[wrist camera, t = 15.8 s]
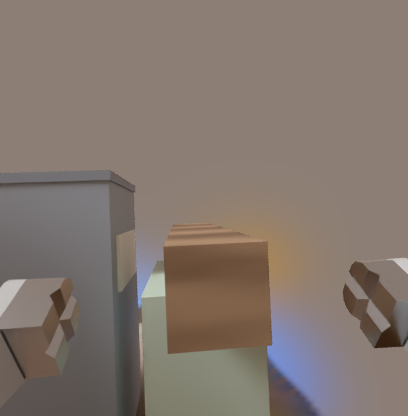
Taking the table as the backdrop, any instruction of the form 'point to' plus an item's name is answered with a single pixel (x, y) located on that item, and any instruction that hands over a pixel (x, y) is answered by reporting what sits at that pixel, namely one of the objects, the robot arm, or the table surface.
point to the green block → (197, 369)
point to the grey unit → (78, 285)
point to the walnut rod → (215, 289)
